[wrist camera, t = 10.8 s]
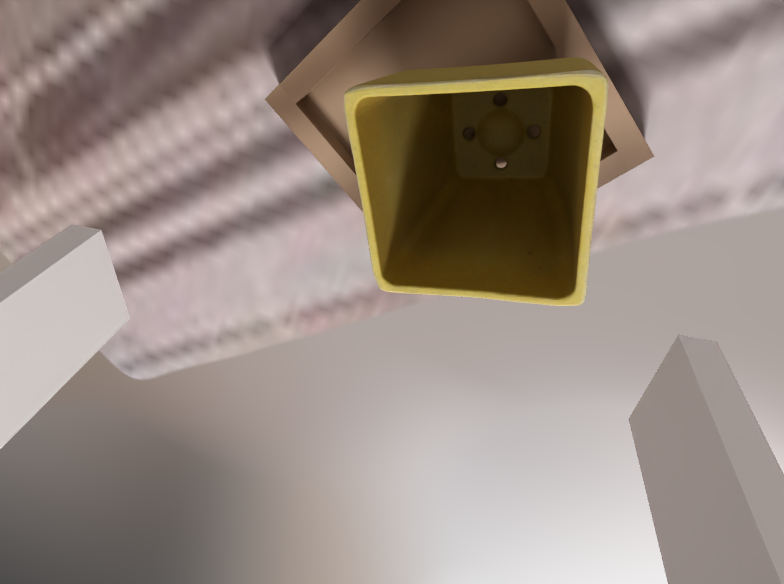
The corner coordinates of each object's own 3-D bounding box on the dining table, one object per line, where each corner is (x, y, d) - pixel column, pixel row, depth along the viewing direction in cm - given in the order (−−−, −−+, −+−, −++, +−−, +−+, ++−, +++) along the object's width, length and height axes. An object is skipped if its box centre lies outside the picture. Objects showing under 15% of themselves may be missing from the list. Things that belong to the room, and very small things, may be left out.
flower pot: (608, 24, 21) (612, 69, 14) (588, 210, 26) (584, 311, 19) (413, 42, 24) (338, 87, 17) (429, 206, 29) (375, 292, 22)
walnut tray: (281, 89, 27) (264, 99, 26) (491, -127, 20) (489, -134, 19) (431, 266, 32) (426, 284, 30) (644, 141, 25) (654, 156, 23)
